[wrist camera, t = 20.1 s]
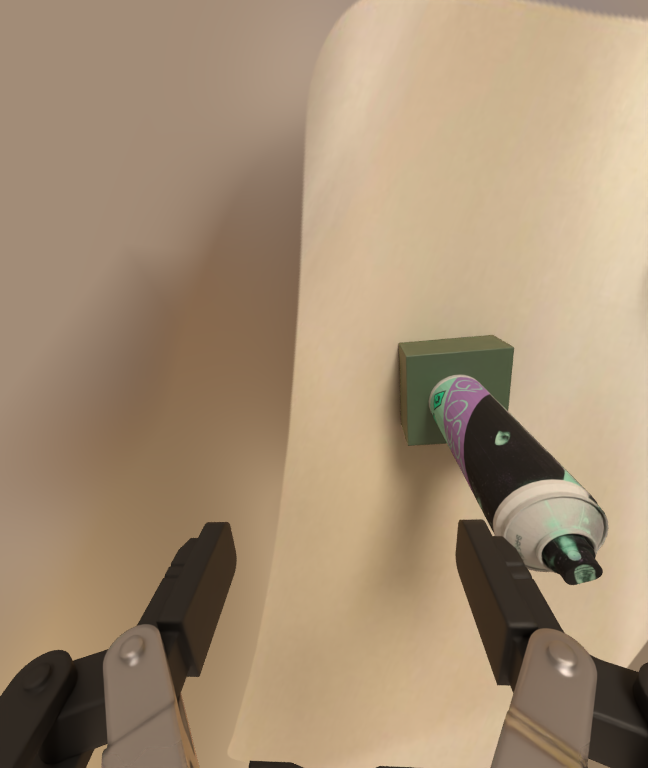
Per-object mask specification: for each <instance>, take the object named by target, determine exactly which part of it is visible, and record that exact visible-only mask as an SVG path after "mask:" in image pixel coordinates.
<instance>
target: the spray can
mask: <svg viewBox="0 0 648 768" xmlns="http://www.w3.org/2000/svg"><path fill="white" fill-rule="evenodd" d="M429 408H430V411H431V413H432V415H433V417H434V419H435V421H436V423H437V425H438V427H439V429H440V431H441V432H442V434H443V436H444V438H445V440H446V442H447V444H448V446H449V448H450V450H451V452H452V454H453V455H454V457H455V459H456V461H457V463H458V465H459V467H460V469H461V471H462V473H463V475H464V477H465V479H466V480H467V482H468V484H469V486H470V488H471V490H472V492H473V494H474V496H475V498H476V500H477V502H478V503H479V505H480V507H481V509H482V511H483V513H484V515H485V517H486V519H487V521H488V523H489V525H490V527H491V528H492V530H493V532H494V534H495V536H503V537H504V538H505V539H506V540H507V541H508V542H509V543H510V544H512V545H513V546H514V547H515V548H516V549H517V551H518V553H519V555H520V556H521V558H522V560H523V562H524V563H525V567H527V569H529V570H534V571H540V572H554V573H558V574H560V575H561V576H562V578H563V579H564V581H565V582H566V583H567V584H569V585H576V584H580V583H584V582H588V581H592V580H595V579H597V578H599V577H600V576H601V575H602V573H603V570H602V568H601V566H600V565H599V564H598V562H597V561H596V560H595V557H596V554H597V551H598V550H599V549H600V548H601V546H602V545H603V544H604V542H605V539H606V537H607V534H608V520H607V517H606V515H605V513H604V512H603V511H602V509H601V508H600V507H599V506H598V504H597V502H596V501H595V499H594V498H593V497H592V496H591V495H590V494H589V493H588V492H587V491H586V490H585V489H584V488H583V487H582V486H581V485H580V484H579V483H578V482H577V481H576V479H575V478H574V477H573V476H572V475H571V474H570V473H569V472H568V471H567V470H566V469H565V468H564V467H563V466H562V465H561V464H560V463H559V462H558V461H557V460H556V459H555V458H554V457H553V456H552V455H551V454H550V453H549V452H548V451H547V450H546V449H545V448H544V447H543V446H542V445H541V444H540V443H539V442H538V441H537V440H536V439H535V438H534V437H533V436H532V435H531V434H530V433H529V432H528V431H527V430H526V429H525V428H524V427H523V426H522V425H521V424H520V423H519V422H518V421H517V420H516V419H515V418H514V417H513V416H512V415H511V414H510V413H509V412H508V411H507V410H506V409H505V408H504V407H503V406H502V405H501V404H500V403H499V402H498V401H497V400H496V399H495V398H494V397H493V396H492V395H491V394H490V393H489V392H488V391H487V390H486V389H485V388H484V387H483V386H482V385H481V384H480V383H479V382H478V381H477V380H475V379H474V378H472V377H470V376H466V375H453V376H450V377H447V378H445V379H443V380H441V381H440V382H439V383H438V384H437V385H436V386H435V387H434V388H433V390H432V391H431V394H430V396H429Z"/></svg>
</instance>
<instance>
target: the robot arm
mask: <svg viewBox="0 0 648 768" xmlns="http://www.w3.org/2000/svg"><path fill="white" fill-rule="evenodd" d="M456 564H457V569H458V573H459V576H460V579H461V582H462V585H463V588H464V591H465V593H466V596H467V599H468V602H469V605H470V608H471V611H472V614H473V616H474V619H475V622H476V625H477V628H478V631H479V634H480V637H481V639H482V642H483V645H484V648H485V651H486V654H487V657H488V660H489V662H490V665H491V668H492V671H493V674H494V677H495V680H496V683H497V685H510V686H511V688H512V691H513V697H512V701H511V704H510V707H509V710H508V712H507V714H506V717H505V720H504V724H503V727H502V730H501V734H500V737H499V741H498V744H497V748H496V751H495V754H494V758H493V761H492V765H491V768H588V766H587V765H588V763H587V762H588V758H589V759H591V760H593V761H596V762H599V763H601V764H603V765H605V766H608V767H610V768H648V663H646V664H644V665H643V666H642V667H641V668H640V670H639V672H636V671H633V670H630V669H627V668H624V667H621V666H618V665H614V664H611V663H608V662H605V661H602V660H600V659H597V658H595V657H593V656H591V655H590V654H589V653H588V652H587V651H586V650H585V649H584V647H583V646H582V645H581V644H579V643H578V642H577V641H576V640H575V639H573V638H572V637H570V636H569V635H567V634H565V633H564V631H563V630H562V628H561V627H560V625H559V623H558V621H557V620H556V618H555V616H554V614H553V613H552V611H551V609H550V607H549V606H548V604H547V602H546V600H545V599H544V597H543V595H542V593H541V592H540V590H539V588H538V586H537V584H536V583H535V581H534V579H532V576H531V574H530V572H529V570H528V569H527V567H525V563H524V562H523V560H522V558H521V556H520V555H519V553H518V551H517V549H516V548H515V547H514V546H513V545H512V544H510V543H509V542H508V541H507V540H506V539H505V538H504V537H503V536H492V534H491V533H490V531H489V529H488V527H487V525H486V523H485V521H484V520H459V523H458V533H457V544H456ZM235 569H236V550H235V546H234V541H233V536H232V532H231V527H230V524H229V523H228V522H208V523H206V524H205V526H204V527H203V529H202V531H201V533H200V535H199V537H198V538H191V539H189V540H188V541H187V542H186V543H185V544H184V546H182V547H181V548H180V549H179V550H178V552H177V554H176V556H175V557H174V559H173V561H172V563H171V567H169V568H168V570H167V572H166V574H165V578H163V579H162V581H161V583H160V585H159V587H158V589H157V590H156V592H155V594H154V596H153V598H152V599H151V601H150V603H149V605H148V607H147V608H146V610H145V612H144V614H143V616H142V617H141V620H140V621H139V623H138V624H137V626H135V627H133V628H131V629H129V630H127V631H126V632H124V633H123V634H122V635H120V637H118V638H117V639H116V640H115V641H114V642H113V643H112V645H111V646H110V648H109V649H107V650H104V651H102V652H99V653H96V654H92V655H89V656H86V657H83V658H80V659H77V660H74V661H72V659H71V657H70V655H69V654H68V653H67V652H66V651H63V650H54V651H50V652H47V653H45V654H43V655H41V656H39V657H37V658H36V659H34V660H32V661H31V662H30V663H28V664H27V665H26V666H25V667H24V668H23V669H21V671H20V672H19V673H18V674H17V675H16V676H15V677H14V679H13V680H12V681H11V682H10V684H9V685H8V687H7V688H6V689H5V691H4V692H3V693H2V695H1V696H0V768H86V766H87V764H88V762H89V760H90V757H91V755H92V753H93V751H94V749H95V748H98V747H100V746H103V745H106V744H108V745H107V748H106V749H105V750H104V751H103V753H102V768H200V767H199V763H198V759H197V755H196V751H195V747H194V743H193V739H192V735H191V731H190V727H189V722H188V718H187V714H186V710H185V706H184V702H183V698H182V695H181V690H182V688H183V685H184V682H185V679H186V677H189V676H190V677H199V676H200V673H201V670H202V667H203V665H204V662H205V659H206V656H207V652H208V650H209V647H210V644H211V641H212V638H213V635H214V632H215V629H216V626H217V623H218V620H219V617H220V614H221V612H222V609H223V606H224V603H225V599H226V597H227V594H228V591H229V588H230V585H231V582H232V579H233V576H234V573H235ZM249 768H303V767H301V766H298V765H296V764H294V763H291V762H266V761H250V763H249ZM376 768H412V767H388V766H379V767H376Z"/></svg>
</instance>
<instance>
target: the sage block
mask: <svg viewBox="0 0 648 768" xmlns="http://www.w3.org/2000/svg"><path fill="white" fill-rule="evenodd" d="M513 354H514V347H512V346H511V345H509V344H507V343H506V342H504V341H502V340H501V339H499V338H497V337H496V336H494V335H488V336H476V337H464V338H452V339H441V340H429V341H417V342H405V343H399V371H400V407H401V425H402V429H403V432H404V435H405V438H406V441H407V444H408V446H412V445H429V444H446V443H447V442H446V440H445V438H444V436H443V434H442V432H441V431H440V429H439V427H438V425H437V423H436V421H435V419H434V417H433V415H432V413H431V411H430V408H429V396H430V394H431V391H432V390H433V388H434V387H435V386H436V385H437V384H438V383H439V382H440V381H441V380H443V379H445V378H447V377H450V376H453V375H466V376H470V377H472V378H474V379H475V380H477V381H478V382H479V383H480V384H481V385H482V386H483V387H484V388H485V389H486V390H487V391H488V392H489V393H490V394H491V395H492V396H493V397H494V398H495V399H496V400H497V401H498V402H499V403H500V404H501V405H502V406H503V407H504V408H505V409H506V410H507V411H508V406H509V396H510V385H511V375H512V365H513Z"/></svg>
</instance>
